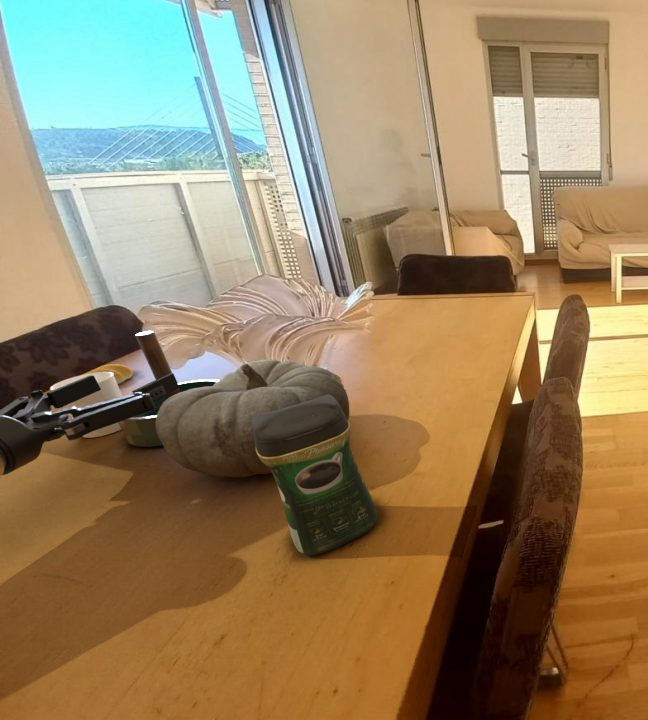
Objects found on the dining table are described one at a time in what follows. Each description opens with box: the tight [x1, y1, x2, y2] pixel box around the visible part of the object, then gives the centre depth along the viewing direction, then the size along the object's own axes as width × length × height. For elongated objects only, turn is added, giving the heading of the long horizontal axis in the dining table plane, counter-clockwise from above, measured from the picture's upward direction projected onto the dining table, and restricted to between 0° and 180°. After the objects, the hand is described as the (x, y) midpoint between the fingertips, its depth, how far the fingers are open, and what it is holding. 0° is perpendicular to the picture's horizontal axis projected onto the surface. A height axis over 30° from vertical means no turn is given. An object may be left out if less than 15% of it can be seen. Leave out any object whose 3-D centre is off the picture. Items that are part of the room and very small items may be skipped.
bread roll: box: [82, 363, 134, 386], centre depth 107 cm, size 8×9×4 cm
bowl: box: [118, 378, 220, 448], centre depth 88 cm, size 16×16×6 cm
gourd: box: [155, 358, 351, 478], centre depth 77 cm, size 25×25×17 cm
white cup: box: [49, 372, 123, 439], centre depth 87 cm, size 8×8×10 cm
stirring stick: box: [134, 330, 181, 401], centre depth 85 cm, size 5×5×18 cm
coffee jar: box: [252, 395, 378, 556], centre depth 59 cm, size 10×8×19 cm
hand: (135, 381), depth 80 cm, fingers open, 13 cm apart
